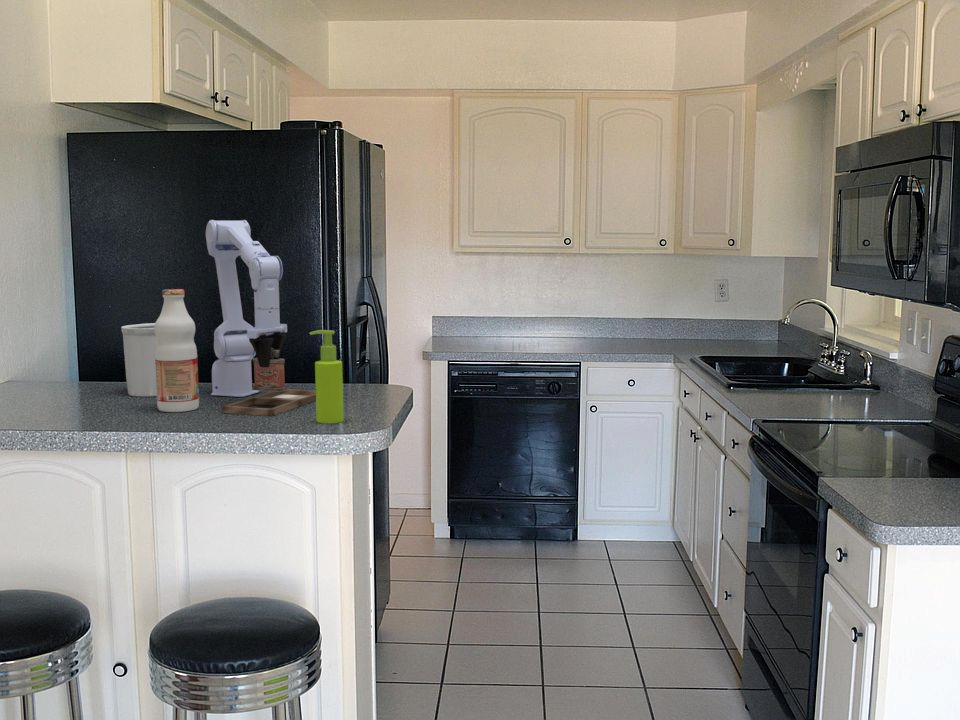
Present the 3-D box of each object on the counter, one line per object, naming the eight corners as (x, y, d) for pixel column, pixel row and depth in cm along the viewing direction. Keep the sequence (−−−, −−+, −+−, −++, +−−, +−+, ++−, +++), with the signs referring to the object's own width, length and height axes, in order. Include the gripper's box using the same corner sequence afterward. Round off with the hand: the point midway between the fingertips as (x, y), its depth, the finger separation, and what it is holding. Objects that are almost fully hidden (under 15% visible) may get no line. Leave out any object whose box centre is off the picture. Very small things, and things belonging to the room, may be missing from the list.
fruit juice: (149, 410, 230) (143, 290, 226) (182, 404, 238) (177, 287, 234) (174, 414, 225) (169, 291, 221) (207, 408, 232) (203, 289, 229)
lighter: (288, 389, 234) (287, 347, 232) (280, 392, 231) (279, 349, 229) (259, 387, 236) (257, 346, 235) (251, 390, 233) (249, 348, 232)
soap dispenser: (312, 418, 219) (310, 329, 217) (344, 418, 220) (342, 328, 217) (310, 423, 214) (308, 332, 211) (342, 423, 214) (340, 331, 211)
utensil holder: (111, 395, 251) (108, 326, 248) (151, 386, 264) (148, 321, 262) (158, 399, 245) (155, 328, 243) (197, 389, 259) (194, 323, 256)
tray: (222, 412, 226) (221, 406, 226) (280, 394, 251) (279, 388, 251) (271, 416, 222) (271, 409, 222) (325, 397, 247) (325, 391, 246)
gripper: (265, 311, 223) (267, 370, 225) (297, 306, 236) (299, 362, 238) (238, 310, 225) (240, 369, 227) (271, 305, 239) (273, 361, 240)
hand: (268, 365), depth 233 cm, fingers closed on lighter, 3 cm apart
